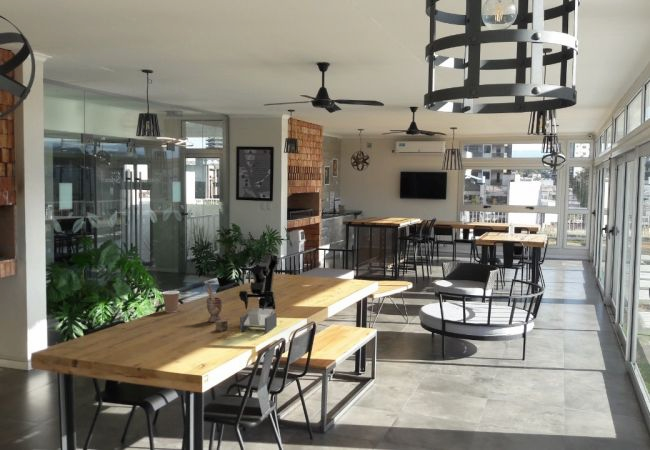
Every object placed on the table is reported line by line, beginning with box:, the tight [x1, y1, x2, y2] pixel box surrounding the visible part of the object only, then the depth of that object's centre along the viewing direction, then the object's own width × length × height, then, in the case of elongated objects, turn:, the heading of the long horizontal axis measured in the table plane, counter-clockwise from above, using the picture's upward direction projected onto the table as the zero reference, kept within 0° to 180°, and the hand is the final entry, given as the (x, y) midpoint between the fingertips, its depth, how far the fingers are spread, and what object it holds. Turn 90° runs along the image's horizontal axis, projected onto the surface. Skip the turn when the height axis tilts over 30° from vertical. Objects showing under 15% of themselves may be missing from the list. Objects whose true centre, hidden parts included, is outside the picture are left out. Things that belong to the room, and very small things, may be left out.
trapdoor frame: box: [239, 311, 278, 334], centre depth 340 cm, size 16×15×8 cm
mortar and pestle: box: [205, 285, 223, 323], centre depth 360 cm, size 12×9×20 cm
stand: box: [215, 319, 228, 332], centre depth 338 cm, size 4×4×5 cm
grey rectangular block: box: [247, 307, 261, 325], centre depth 334 cm, size 5×5×7 cm
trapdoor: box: [244, 307, 275, 328], centre depth 340 cm, size 16×12×3 cm
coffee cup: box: [162, 290, 180, 313], centre depth 387 cm, size 10×10×12 cm
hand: (254, 309), depth 333 cm, fingers open, 9 cm apart
